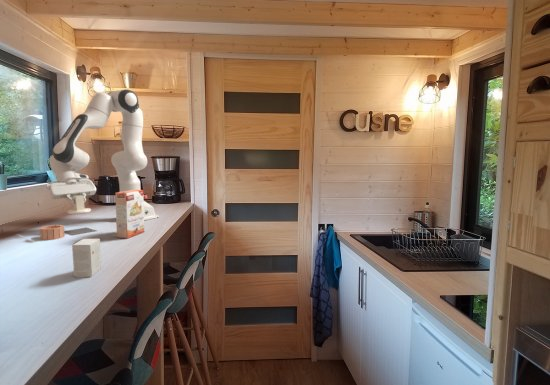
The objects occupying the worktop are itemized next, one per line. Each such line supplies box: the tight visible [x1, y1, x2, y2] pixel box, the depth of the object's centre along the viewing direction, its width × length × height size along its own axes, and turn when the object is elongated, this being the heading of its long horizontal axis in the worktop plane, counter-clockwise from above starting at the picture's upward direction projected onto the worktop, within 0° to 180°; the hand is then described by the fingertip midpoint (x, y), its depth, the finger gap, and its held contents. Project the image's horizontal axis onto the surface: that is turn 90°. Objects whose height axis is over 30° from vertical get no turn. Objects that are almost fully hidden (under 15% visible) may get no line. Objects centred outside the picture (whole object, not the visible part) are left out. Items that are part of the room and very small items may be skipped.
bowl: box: [39, 224, 66, 241], centre depth 160 cm, size 9×9×5 cm
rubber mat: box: [64, 227, 98, 236], centre depth 172 cm, size 12×12×1 cm
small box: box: [71, 238, 102, 278], centre depth 116 cm, size 8×6×10 cm
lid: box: [66, 195, 92, 215], centre depth 171 cm, size 10×10×8 cm
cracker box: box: [115, 189, 145, 239], centre depth 167 cm, size 14×6×21 cm, turn 168°
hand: (79, 202), depth 171 cm, fingers closed on lid, 3 cm apart
